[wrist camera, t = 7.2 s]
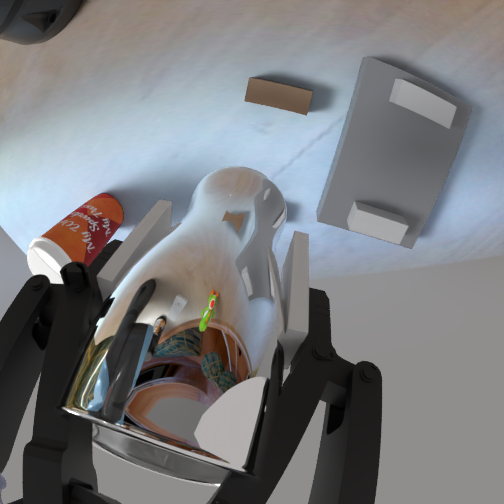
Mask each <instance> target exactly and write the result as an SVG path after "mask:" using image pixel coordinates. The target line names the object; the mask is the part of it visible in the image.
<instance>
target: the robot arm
mask: <svg viewBox="0 0 504 504" xmlns="http://www.w3.org/2000/svg"><path fill="white" fill-rule="evenodd" d="M81 2H82V0H0V39H3V40H7V41H11V42H14V43H18V44H22V45H29V44H37V43H42V42H45V41H47V40H49V39H51V38H52V37H54V36H55V35H56V34H57V33H59V32H60V31H61V30H62V29H63V28H64V27H65V26H66V24H67V23H68V22H69V21H70V19H71V18H72V17H73V15H74V14H75V12H76V11H77V9H78V7H79V5H80V3H81ZM171 219H172V202H171V201H166V200H162V199H159V201H158V202H157V203H156V204H155V205H154V206H153V207H152V208H151V210H150V211H149V212H148V213H147V214H146V215H145V217H144V218H143V219H142V220H141V221H140V222H139V224H138V225H137V226H136V227H135V228H134V229H133V231H132V232H131V233H130V234H129V235H128V237H127V238H126V239H125V240H124V242H123V241H119V240H116V239H115V240H113V241H111V242H110V243H108V244H106V246H105V247H104V248H103V249H102V250H101V252H100V253H99V254H98V255H97V257H96V258H95V259H94V260H93V261H92V263H91V264H90V265H89V266H88V267H87V266H86V264H84V263H83V262H78V261H75V262H70V263H68V264H66V265H65V266H63V267H62V268H61V270H60V274H61V278H62V281H63V284H56V283H50V280H49V278H48V277H47V276H46V275H43V274H38V275H34V276H33V277H31V278H30V279H29V280H28V281H27V282H26V283H25V285H24V286H23V287H22V289H21V290H20V292H19V293H18V295H17V296H16V298H15V299H14V301H13V302H12V304H11V305H10V307H9V308H8V310H7V312H6V313H5V315H4V316H3V318H2V320H1V321H0V504H3V503H2V500H1V490H2V489H4V488H5V487H6V480H5V478H4V477H3V476H2V475H1V473H2V471H3V470H4V468H5V466H6V464H7V462H8V460H9V457H10V454H11V452H12V448H13V445H14V442H15V439H16V436H17V433H18V430H19V427H20V424H21V421H22V418H23V415H24V412H25V410H26V407H27V405H28V402H29V399H30V397H31V394H32V392H33V389H34V387H35V385H36V382H37V380H38V378H39V375H40V373H41V376H40V382H39V388H38V394H37V401H36V408H35V416H34V426H33V436H32V440H31V441H30V442H29V443H27V444H26V446H25V448H24V453H23V498H21V499H19V500H16V501H14V502H11V503H8V504H121V503H120V502H118V501H117V500H114V499H112V498H110V497H107V496H105V495H103V494H101V493H98V486H97V475H96V471H95V469H94V466H93V461H92V432H93V423H91V422H88V421H85V420H82V419H79V418H76V417H73V416H69V415H63V416H62V417H60V416H57V415H55V414H54V413H53V407H54V406H55V404H56V402H57V400H58V397H59V395H60V392H61V390H62V387H63V385H64V383H65V380H66V377H67V375H68V372H69V370H70V367H71V365H72V362H73V360H74V358H75V356H76V353H77V351H78V349H79V347H80V345H81V343H82V341H83V338H84V336H85V334H86V332H87V330H88V329H89V327H90V325H91V323H92V321H93V320H94V318H95V316H96V314H97V313H98V311H99V309H100V307H101V306H102V304H103V302H104V301H105V299H106V298H107V296H108V295H109V294H110V292H111V291H112V289H113V288H114V287H115V285H116V284H117V282H118V281H119V280H120V278H121V277H122V276H123V275H124V273H125V272H126V271H127V270H128V269H129V268H130V267H131V266H132V265H133V264H134V263H135V262H136V260H137V259H138V258H139V257H140V256H141V255H142V254H143V253H144V252H145V251H146V250H147V249H149V248H150V247H151V246H152V245H153V244H154V243H155V242H156V241H157V240H158V239H160V238H161V237H162V236H163V235H164V234H165V233H166V232H168V231H169V230H170V229H171ZM280 284H281V291H282V298H283V305H284V318H285V332H286V342H285V363H284V369H288V368H289V366H290V364H291V367H290V373H289V375H288V377H287V378H286V380H285V382H284V383H283V386H282V389H281V393H280V396H279V399H278V404H277V409H276V413H275V418H274V423H273V427H272V431H271V435H270V440H269V444H268V447H267V452H266V456H265V460H264V464H263V469H262V479H261V481H252V480H250V479H248V478H246V477H244V476H241V475H239V474H236V473H233V472H231V471H230V472H229V473H228V475H227V476H226V477H225V479H224V480H223V482H222V483H221V485H220V486H219V487H218V489H217V490H216V492H215V493H214V494H213V496H212V497H211V499H210V500H209V501H208V503H207V504H266V502H267V500H268V499H269V497H270V495H271V494H272V492H273V490H274V489H275V487H276V485H277V483H278V482H279V480H280V478H281V476H282V475H283V473H284V471H285V469H286V467H287V466H288V464H289V462H290V460H291V458H292V456H293V454H294V452H295V450H296V449H297V447H298V445H299V443H300V441H301V439H302V437H303V434H304V433H305V430H306V428H307V426H308V424H309V422H310V420H311V418H312V416H313V413H314V411H315V409H316V407H317V405H318V402H319V400H322V401H324V402H326V410H325V417H324V424H323V430H322V436H321V442H320V448H319V454H318V460H317V464H316V470H315V475H314V480H313V485H312V489H311V494H310V498H309V502H308V504H374V502H375V495H376V487H377V479H378V468H379V458H380V443H381V422H382V376H381V372H380V370H379V369H378V367H377V366H375V365H374V364H373V363H371V362H368V361H361V362H358V363H357V364H356V365H355V364H352V363H350V362H348V361H346V360H344V359H342V358H341V357H340V356H338V355H337V354H336V351H335V349H334V348H333V346H332V343H331V323H330V310H329V309H330V305H329V298H328V297H327V295H326V293H325V291H322V290H318V289H313V288H309V236H308V234H306V233H302V232H298V231H294V235H293V238H292V241H291V244H290V247H289V250H288V253H287V256H286V259H285V262H284V265H283V268H282V274H281V283H280Z"/></svg>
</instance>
